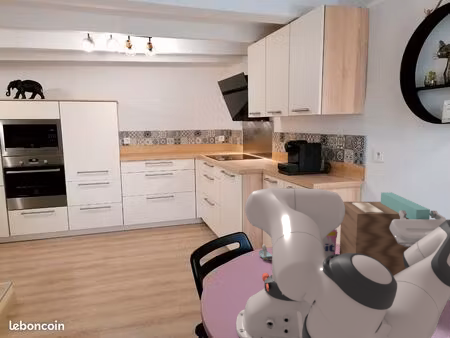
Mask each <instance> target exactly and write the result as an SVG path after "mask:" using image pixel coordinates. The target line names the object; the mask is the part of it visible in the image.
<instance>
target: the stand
mask: <svg viewBox="0 0 450 338" xmlns="http://www.w3.org/2000/svg"><path fill="white" fill-rule="evenodd" d="M343 203H344V206H345V216H344V219H343V221H342V223H341V224H340V231H339V232H340V235H339V254H344V253H361V254H365V255H368V256H371V257H373V258H375V259H376V260H378V261H380V262H381V263H382V264H384V265H385V266H386V267H387V268H388V269H389V270H390V271H391V273H392V275H393V276H394V275H395V274H397V273H399V272H401V271H402V270H404V269H406V268H405V266H404V262H403V253H404V251H406V250H407V249H408V248H409V247H404V246H403V245H400V244H398V243H397V241H396V239H395V237H394V236H393V234H392V233H391V231H390V224H391V222H392V221H393V220H394V219H400V216H399V213H398V212H396V211H394V210H392V209H391V208H389V207H387V206H385V205H383V204H382V203H381V201H343ZM406 219H408V218H407V217H406Z"/></svg>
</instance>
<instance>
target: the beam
mask: <svg viewBox="0 0 450 338" xmlns="http://www.w3.org/2000/svg"><path fill="white" fill-rule="evenodd" d="M380 202H381V203H382V204H383V205H385V206H387V207H389V208H391V209H392V210H394V211H396V212H398V213H399V211H400V210H401V211H402V210H403V211H406V213H407V215H406V217H407V218H408V219H430V218H431V216H430V211H431V209H429V208H427V207H425V206H424V205H420V204H418V203H416V202H414V201H412V200H410V199H407V198H406V197H402V196H401V195H399V194H396V193H394V192H380Z"/></svg>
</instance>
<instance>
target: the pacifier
mask: <svg viewBox="0 0 450 338" xmlns="http://www.w3.org/2000/svg"><path fill="white" fill-rule="evenodd" d="M261 247H262V248H261V250H259V251H258V255H259V256H260V257H261V258H262V259H263V260H266V261H268V260H269V261H272V253H270V252H269V251H268V249H267V246H266V244H265V243H263V244H262V246H261Z"/></svg>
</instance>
